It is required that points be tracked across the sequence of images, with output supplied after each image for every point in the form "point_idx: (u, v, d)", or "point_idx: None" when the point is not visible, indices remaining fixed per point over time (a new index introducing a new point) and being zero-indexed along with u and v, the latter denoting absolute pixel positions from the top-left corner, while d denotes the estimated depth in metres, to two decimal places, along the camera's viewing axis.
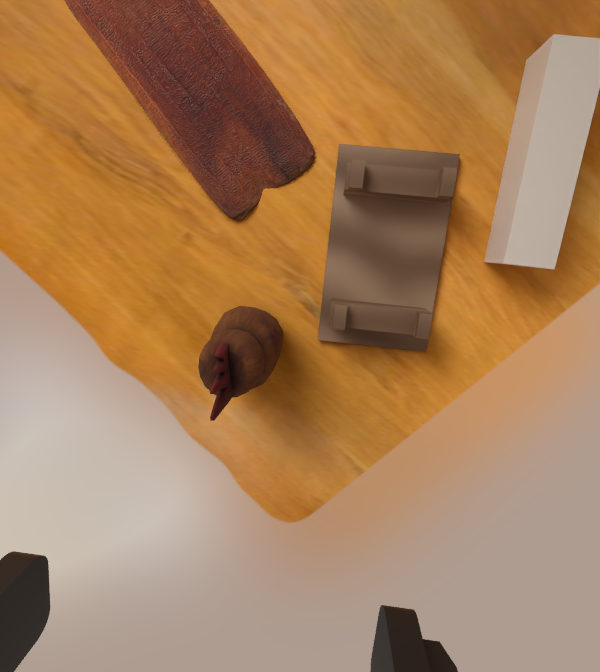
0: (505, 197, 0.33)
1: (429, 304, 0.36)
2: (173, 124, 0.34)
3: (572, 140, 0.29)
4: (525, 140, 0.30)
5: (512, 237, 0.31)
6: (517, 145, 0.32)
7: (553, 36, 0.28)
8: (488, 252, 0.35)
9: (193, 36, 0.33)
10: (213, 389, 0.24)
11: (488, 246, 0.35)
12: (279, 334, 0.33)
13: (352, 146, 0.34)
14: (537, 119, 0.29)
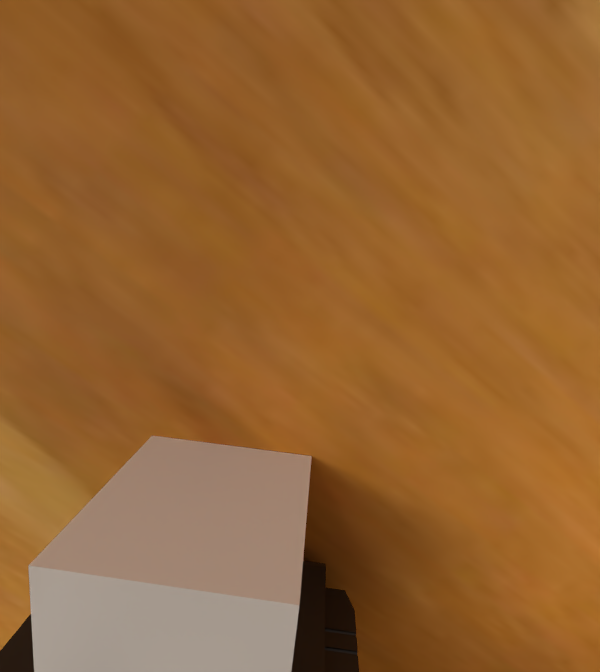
0: None
1: None
2: None
3: None
4: None
5: None
6: None
7: (35, 568, 0.06)
8: None
9: None
10: None
11: None
12: None
13: None
14: None
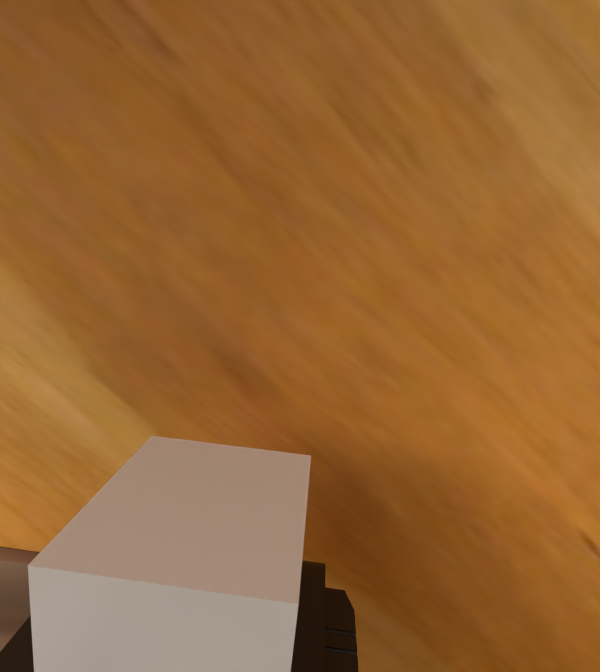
0: None
1: None
2: None
3: None
4: None
5: None
6: None
7: (34, 568, 0.06)
8: None
9: None
10: None
11: None
12: None
13: None
14: None
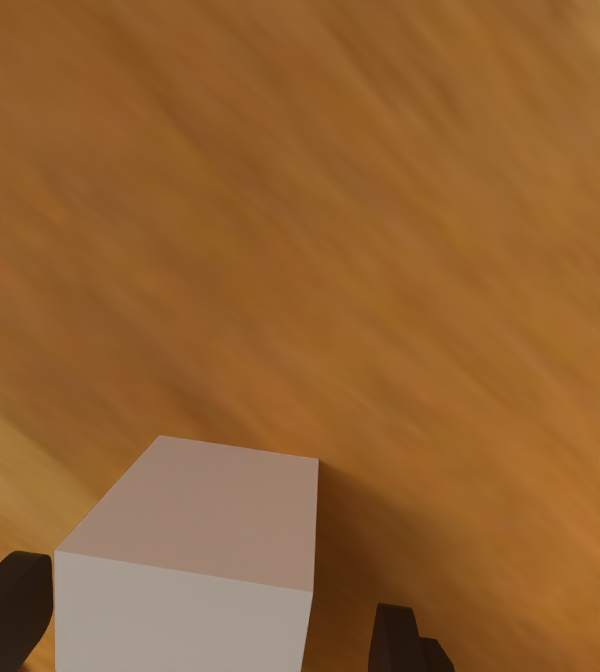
0: None
1: None
2: None
3: None
4: None
5: None
6: None
7: (60, 553, 0.06)
8: None
9: None
10: None
11: None
12: None
13: None
14: None
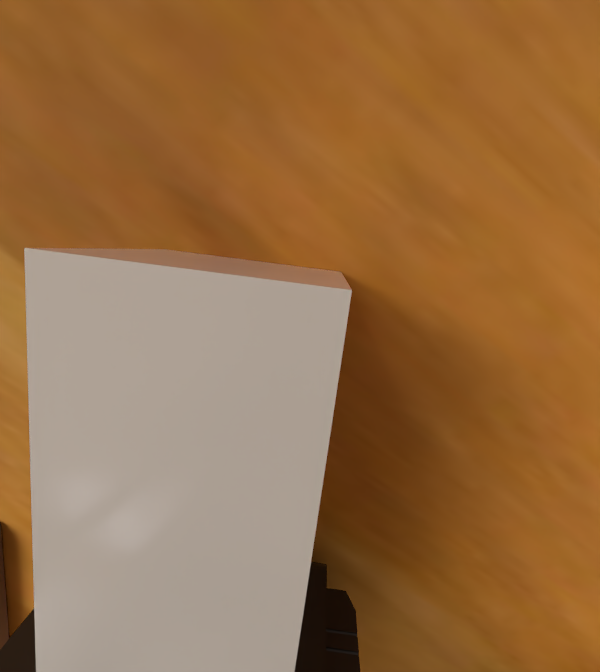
0: None
1: None
2: None
3: None
4: None
5: None
6: None
7: (32, 257, 0.05)
8: None
9: None
10: None
11: None
12: None
13: None
14: (43, 617, 0.06)
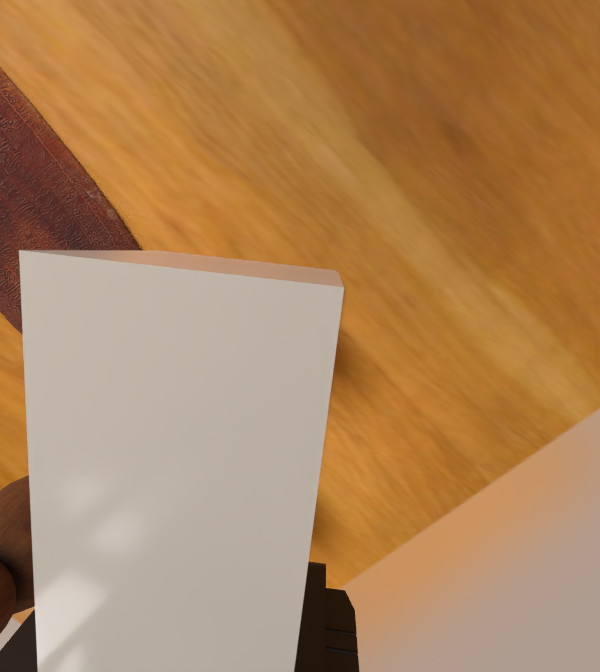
0: None
1: None
2: None
3: None
4: None
5: None
6: None
7: (27, 259, 0.05)
8: None
9: None
10: None
11: None
12: None
13: None
14: (44, 618, 0.06)
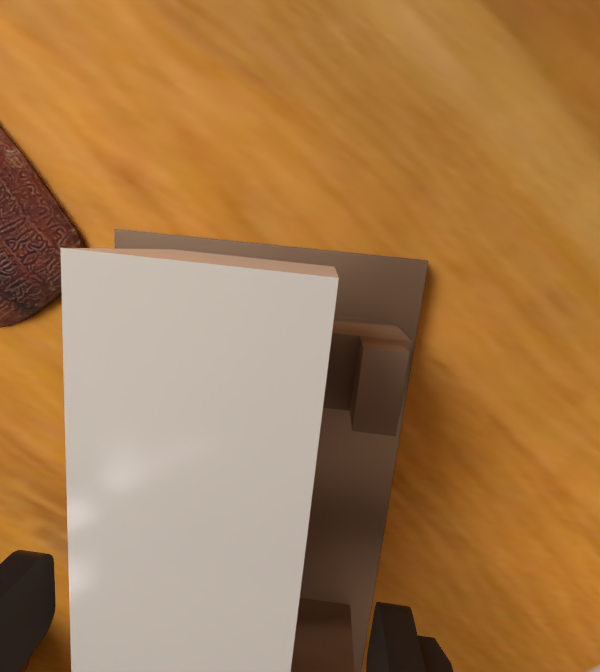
0: None
1: (362, 598, 0.15)
2: None
3: (234, 653, 0.07)
4: None
5: None
6: None
7: (66, 255, 0.06)
8: None
9: None
10: None
11: None
12: None
13: (148, 235, 0.13)
14: (76, 572, 0.07)
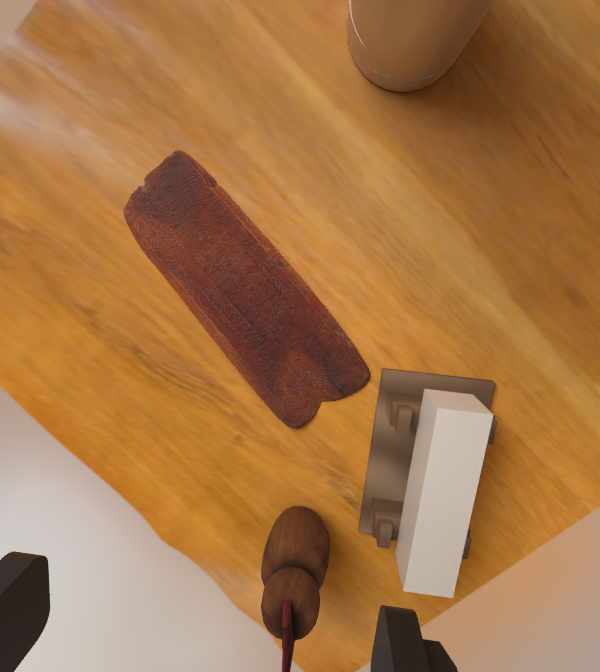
0: (408, 516, 0.34)
1: None
2: (238, 351, 0.36)
3: (461, 494, 0.30)
4: (419, 484, 0.31)
5: (410, 570, 0.32)
6: (416, 475, 0.33)
7: (437, 409, 0.29)
8: (397, 551, 0.36)
9: (258, 278, 0.35)
10: (284, 670, 0.27)
11: (398, 544, 0.36)
12: (328, 551, 0.35)
13: (395, 372, 0.36)
14: (427, 475, 0.30)
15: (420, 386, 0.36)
